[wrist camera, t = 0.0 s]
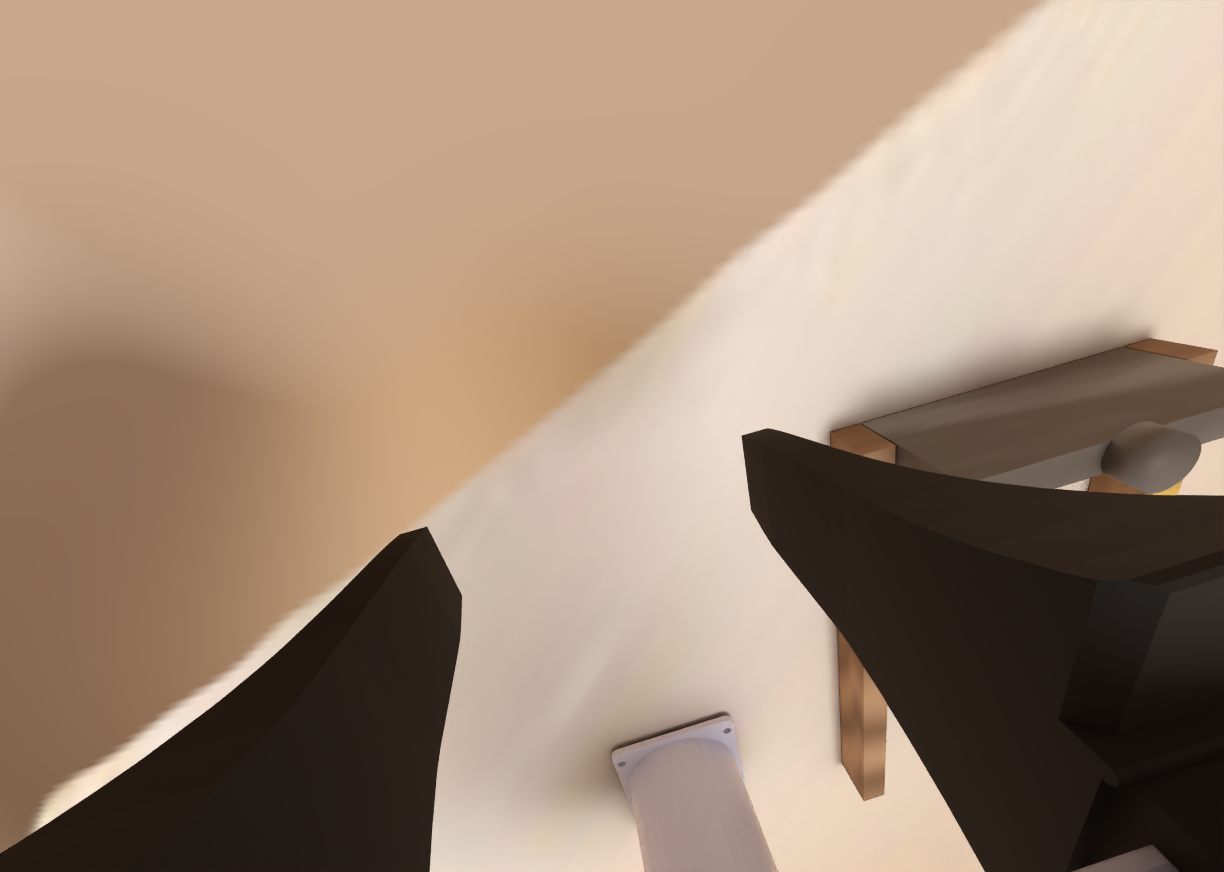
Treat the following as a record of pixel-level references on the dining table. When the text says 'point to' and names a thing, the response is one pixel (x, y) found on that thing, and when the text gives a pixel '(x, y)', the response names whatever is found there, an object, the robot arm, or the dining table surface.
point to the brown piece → (1040, 462)
